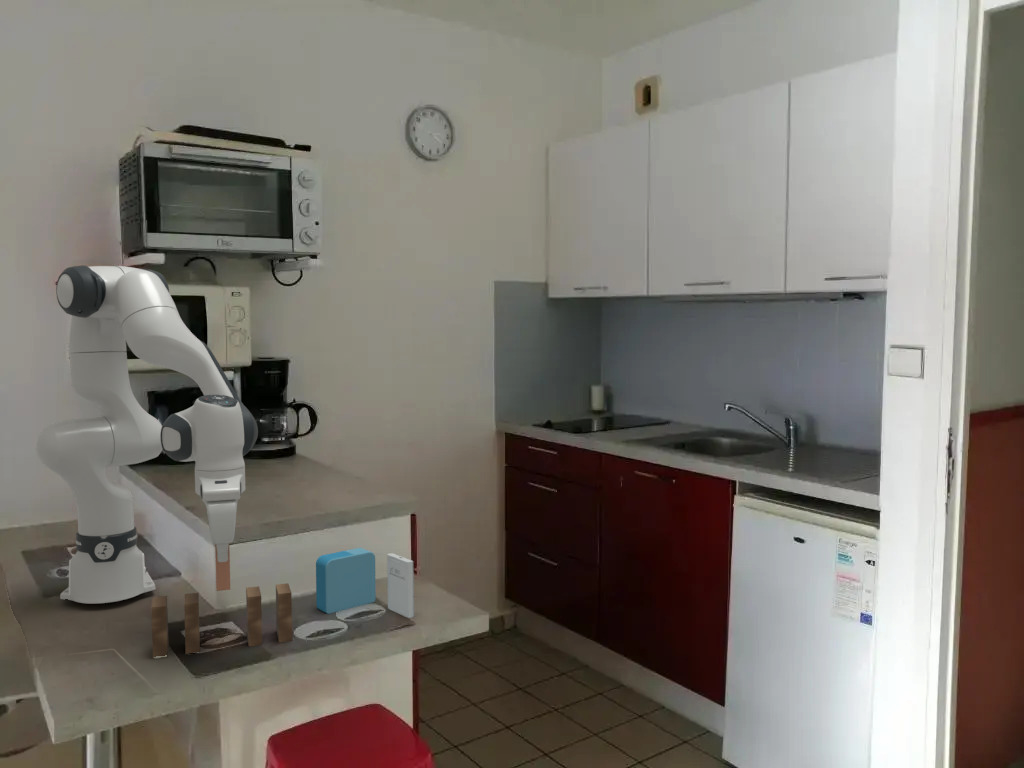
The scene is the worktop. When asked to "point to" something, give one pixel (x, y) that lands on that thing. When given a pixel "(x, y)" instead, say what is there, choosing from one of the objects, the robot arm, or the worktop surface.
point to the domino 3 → (222, 573)
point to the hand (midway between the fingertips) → (222, 555)
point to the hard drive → (400, 585)
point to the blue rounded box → (345, 580)
